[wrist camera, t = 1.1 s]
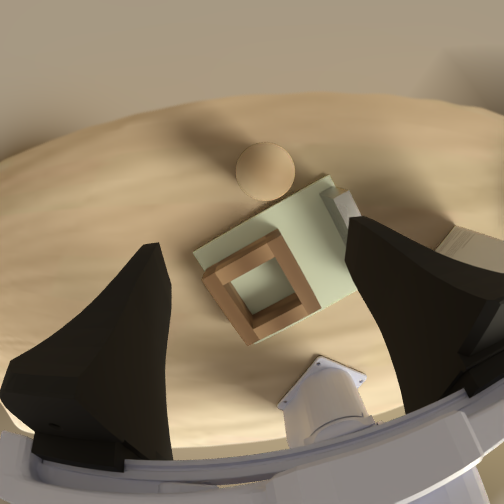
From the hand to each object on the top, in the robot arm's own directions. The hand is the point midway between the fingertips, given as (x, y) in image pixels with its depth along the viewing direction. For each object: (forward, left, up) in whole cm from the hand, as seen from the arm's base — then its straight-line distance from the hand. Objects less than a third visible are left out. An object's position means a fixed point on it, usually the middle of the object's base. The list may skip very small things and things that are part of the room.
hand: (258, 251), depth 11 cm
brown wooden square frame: (-6, -5, -17) cm, 19 cm away
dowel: (+3, +1, -18) cm, 18 cm away
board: (-4, -6, -18) cm, 19 cm away
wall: (+2, -10, -17) cm, 20 cm away
